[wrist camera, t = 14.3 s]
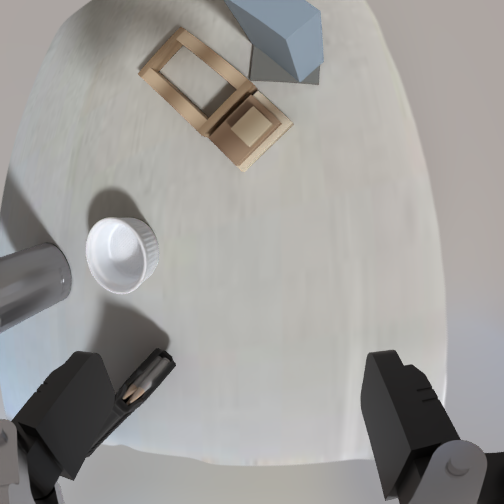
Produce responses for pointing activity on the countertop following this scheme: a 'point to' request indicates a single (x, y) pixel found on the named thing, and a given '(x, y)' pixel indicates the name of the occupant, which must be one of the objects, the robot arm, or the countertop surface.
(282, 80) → the pad
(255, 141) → the rack
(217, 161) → the countertop surface
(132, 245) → the ramekin
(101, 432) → the magazine
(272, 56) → the blue-grey rectangular block
